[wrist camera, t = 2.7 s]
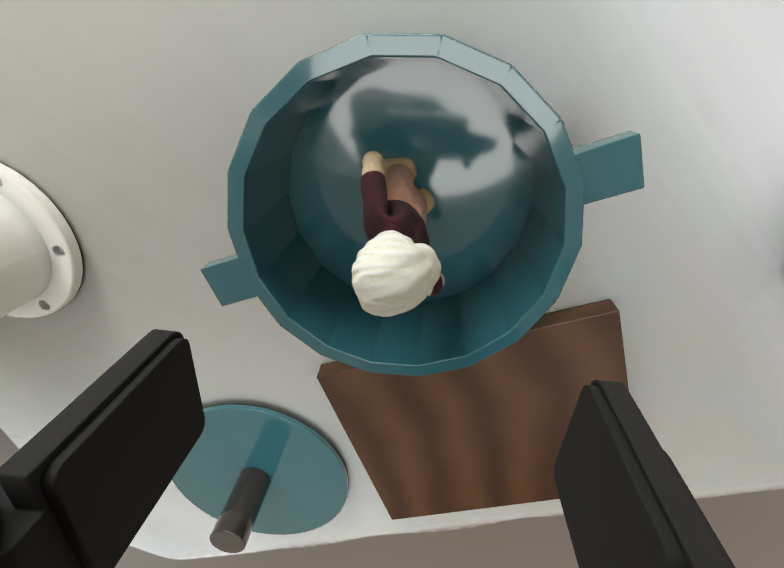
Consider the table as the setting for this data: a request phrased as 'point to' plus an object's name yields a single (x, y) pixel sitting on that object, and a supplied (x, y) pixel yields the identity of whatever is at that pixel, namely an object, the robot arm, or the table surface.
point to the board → (477, 416)
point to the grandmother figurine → (394, 239)
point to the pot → (434, 172)
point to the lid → (261, 475)
